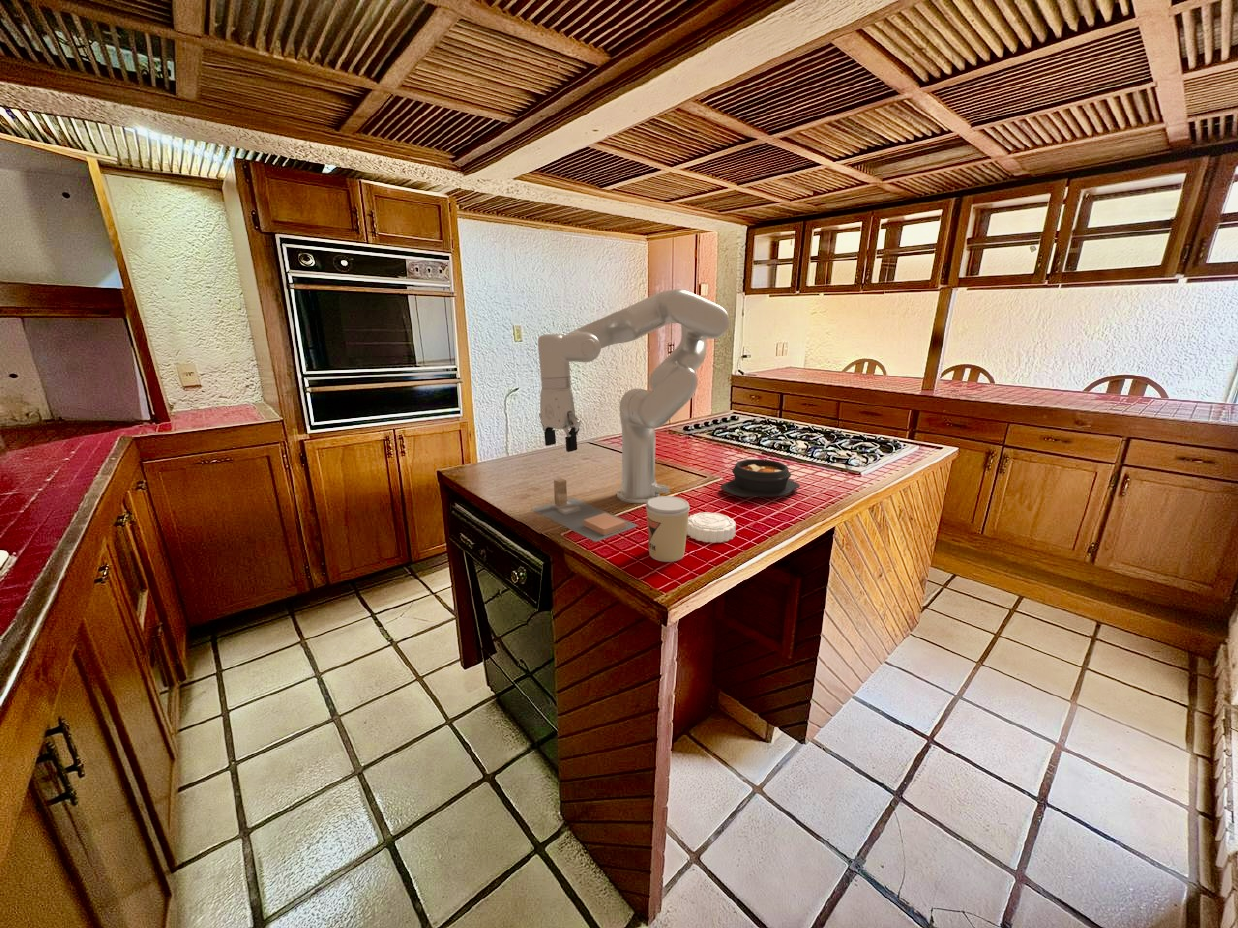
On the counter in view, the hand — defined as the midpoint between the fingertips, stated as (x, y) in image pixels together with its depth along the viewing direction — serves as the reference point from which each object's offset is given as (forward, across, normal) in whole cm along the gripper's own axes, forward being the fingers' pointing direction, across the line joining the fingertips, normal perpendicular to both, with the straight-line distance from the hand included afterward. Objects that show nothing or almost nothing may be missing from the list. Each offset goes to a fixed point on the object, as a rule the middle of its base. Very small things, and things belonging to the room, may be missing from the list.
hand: (561, 447), depth 128 cm
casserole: (+20, +29, +51) cm, 62 cm away
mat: (+17, +10, -1) cm, 20 cm away
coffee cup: (+18, +38, 0) cm, 42 cm away
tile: (+16, +14, -1) cm, 22 cm away
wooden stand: (+17, +2, -1) cm, 17 cm away
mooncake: (+19, +38, +16) cm, 45 cm away
